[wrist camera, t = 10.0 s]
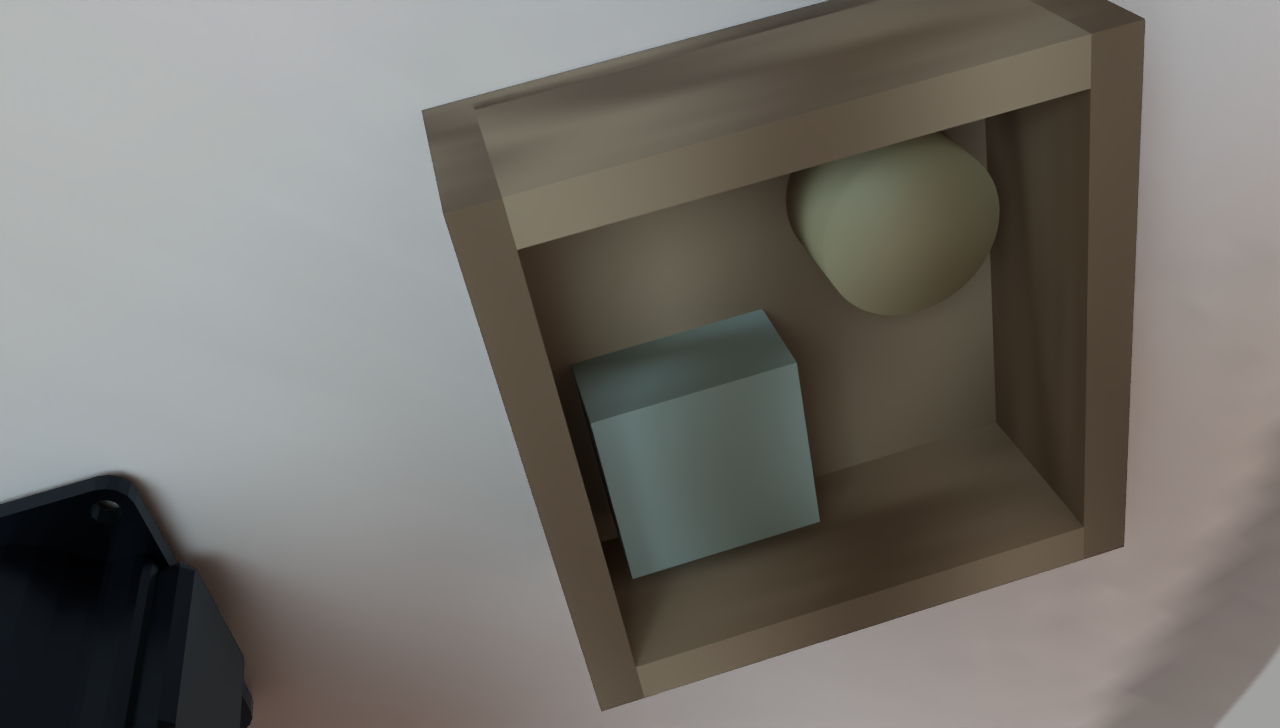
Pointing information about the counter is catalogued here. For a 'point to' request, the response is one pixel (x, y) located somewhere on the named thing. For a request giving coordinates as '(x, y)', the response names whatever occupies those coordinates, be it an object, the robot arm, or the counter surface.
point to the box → (809, 316)
